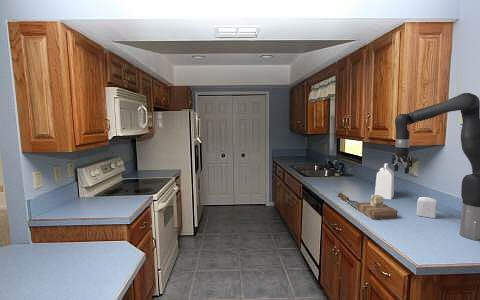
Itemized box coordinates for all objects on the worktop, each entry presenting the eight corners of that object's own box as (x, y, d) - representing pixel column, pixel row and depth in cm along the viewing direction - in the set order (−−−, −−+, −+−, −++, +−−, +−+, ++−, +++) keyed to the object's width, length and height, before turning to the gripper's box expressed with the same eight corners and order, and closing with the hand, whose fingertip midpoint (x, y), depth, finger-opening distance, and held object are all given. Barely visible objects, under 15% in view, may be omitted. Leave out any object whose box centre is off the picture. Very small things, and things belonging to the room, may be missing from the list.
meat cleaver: (372, 211, 186) (373, 205, 185) (356, 211, 185) (356, 205, 185) (351, 197, 219) (351, 192, 219) (336, 197, 219) (337, 192, 218)
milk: (390, 199, 209) (393, 165, 206) (374, 196, 216) (376, 164, 213) (393, 195, 219) (395, 163, 216) (377, 193, 226) (379, 161, 223)
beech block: (382, 207, 176) (383, 196, 175) (375, 207, 175) (376, 197, 174) (377, 205, 181) (378, 194, 180) (370, 205, 180) (371, 194, 179)
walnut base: (397, 218, 171) (397, 210, 170) (373, 219, 169) (373, 211, 168) (378, 208, 189) (378, 201, 188) (356, 209, 186) (357, 202, 186)
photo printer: (435, 216, 173) (437, 197, 172) (436, 219, 170) (438, 199, 168) (416, 214, 178) (417, 195, 177) (416, 216, 175) (417, 197, 173)
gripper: (416, 147, 165) (415, 174, 167) (399, 145, 179) (398, 170, 180) (405, 147, 164) (404, 174, 165) (388, 145, 178) (387, 170, 179)
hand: (401, 172), depth 173 cm, fingers open, 8 cm apart
